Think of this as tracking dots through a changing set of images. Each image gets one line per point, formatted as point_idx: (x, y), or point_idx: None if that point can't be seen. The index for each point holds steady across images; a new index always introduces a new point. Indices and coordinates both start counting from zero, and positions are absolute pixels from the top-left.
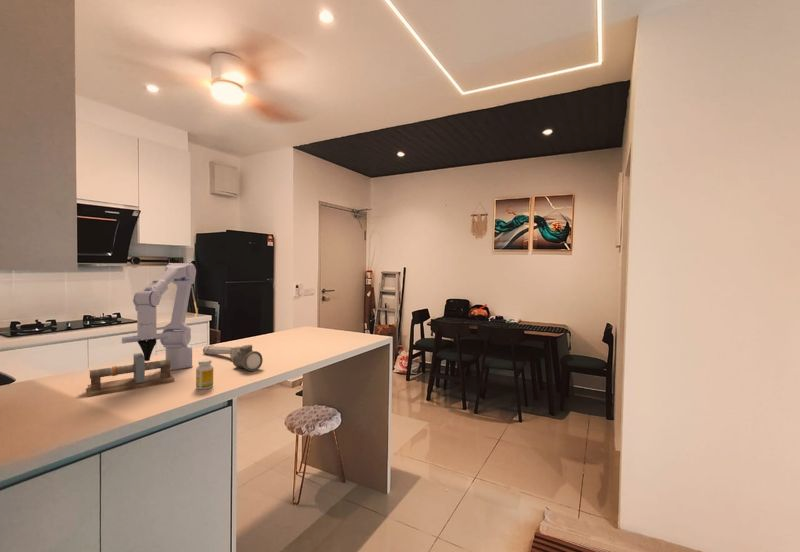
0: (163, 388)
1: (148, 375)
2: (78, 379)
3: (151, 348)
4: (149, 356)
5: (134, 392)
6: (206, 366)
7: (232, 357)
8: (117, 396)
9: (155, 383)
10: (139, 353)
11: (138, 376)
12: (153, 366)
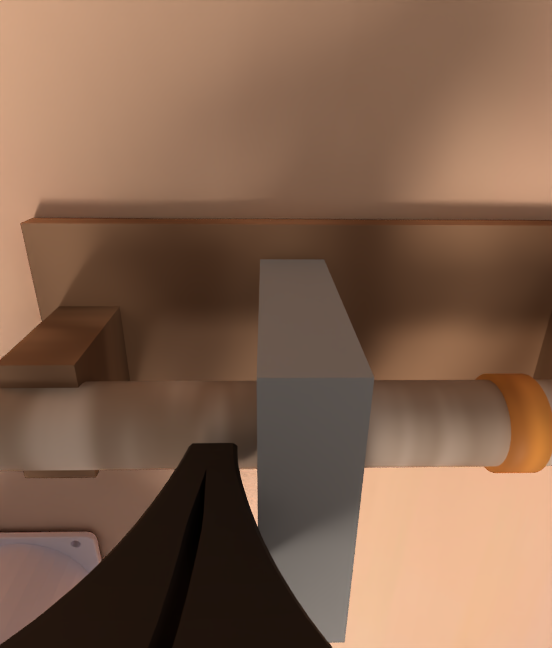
0: (124, 40)
1: None
2: (542, 619)
3: (120, 571)
4: (182, 473)
5: (356, 92)
6: None
7: None
8: (489, 61)
9: (180, 222)
10: None
11: (313, 279)
12: (164, 385)
